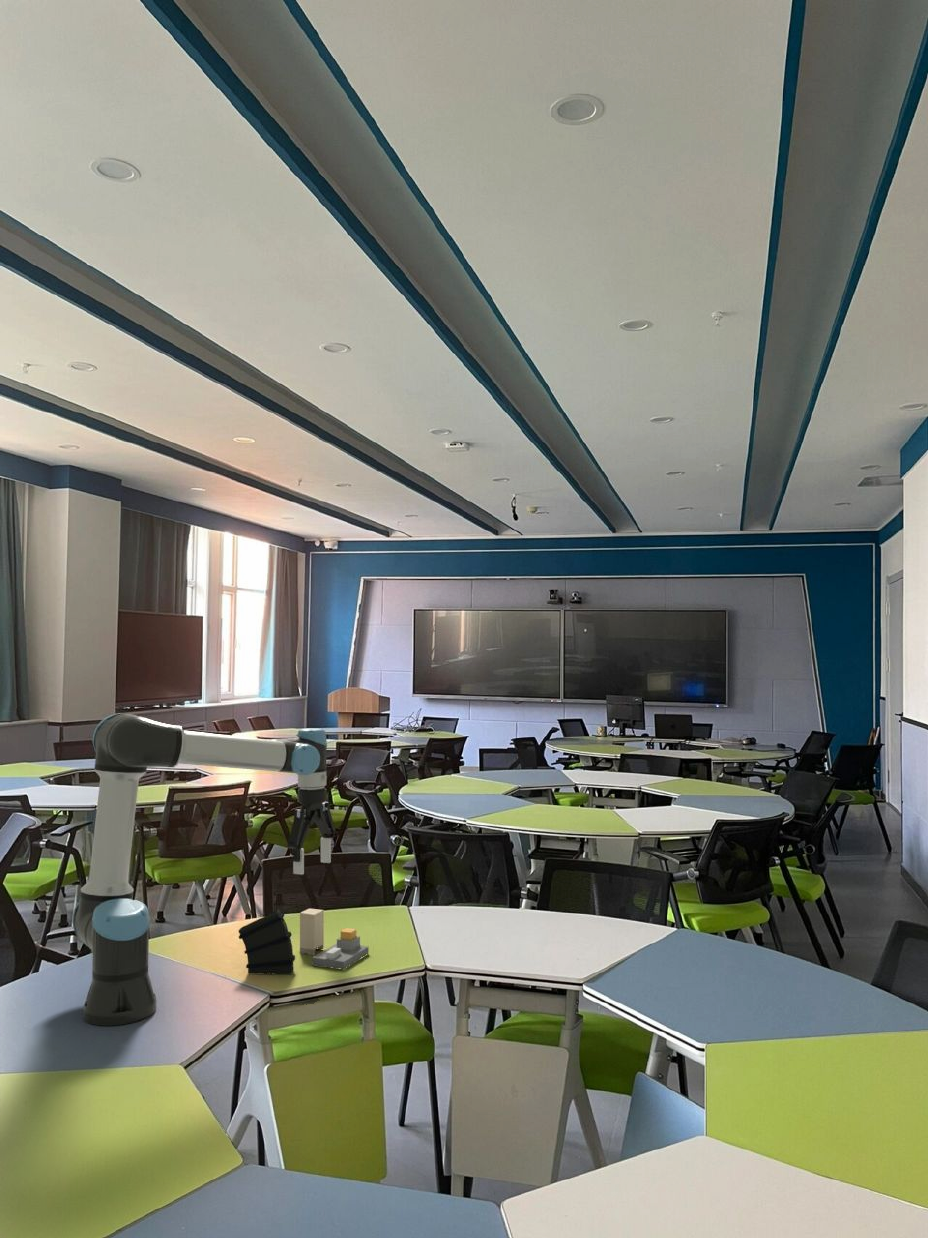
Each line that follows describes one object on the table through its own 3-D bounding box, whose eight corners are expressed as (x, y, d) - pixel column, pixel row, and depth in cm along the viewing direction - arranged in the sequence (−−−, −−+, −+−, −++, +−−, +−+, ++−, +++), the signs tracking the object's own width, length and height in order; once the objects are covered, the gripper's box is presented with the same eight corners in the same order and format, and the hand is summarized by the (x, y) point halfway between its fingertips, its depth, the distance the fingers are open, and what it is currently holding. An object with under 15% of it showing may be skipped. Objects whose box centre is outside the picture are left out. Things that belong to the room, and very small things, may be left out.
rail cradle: (312, 965, 240) (312, 947, 240) (338, 950, 252) (338, 933, 252) (343, 970, 237) (343, 951, 237) (368, 954, 249) (368, 936, 249)
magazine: (304, 968, 233) (278, 912, 234) (255, 991, 233) (229, 935, 234) (307, 963, 237) (281, 908, 237) (259, 986, 237) (233, 930, 238)
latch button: (340, 943, 247) (340, 931, 247) (346, 939, 250) (346, 928, 250) (350, 944, 246) (350, 932, 246) (356, 941, 249) (356, 929, 249)
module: (314, 955, 248) (314, 914, 248) (299, 953, 250) (300, 913, 250) (323, 949, 252) (323, 910, 253) (309, 947, 254) (309, 908, 254)
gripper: (299, 795, 239) (299, 880, 239) (347, 781, 262) (348, 859, 262) (273, 793, 242) (273, 877, 242) (324, 780, 265) (324, 856, 265)
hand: (312, 868), depth 252 cm, fingers open, 13 cm apart
